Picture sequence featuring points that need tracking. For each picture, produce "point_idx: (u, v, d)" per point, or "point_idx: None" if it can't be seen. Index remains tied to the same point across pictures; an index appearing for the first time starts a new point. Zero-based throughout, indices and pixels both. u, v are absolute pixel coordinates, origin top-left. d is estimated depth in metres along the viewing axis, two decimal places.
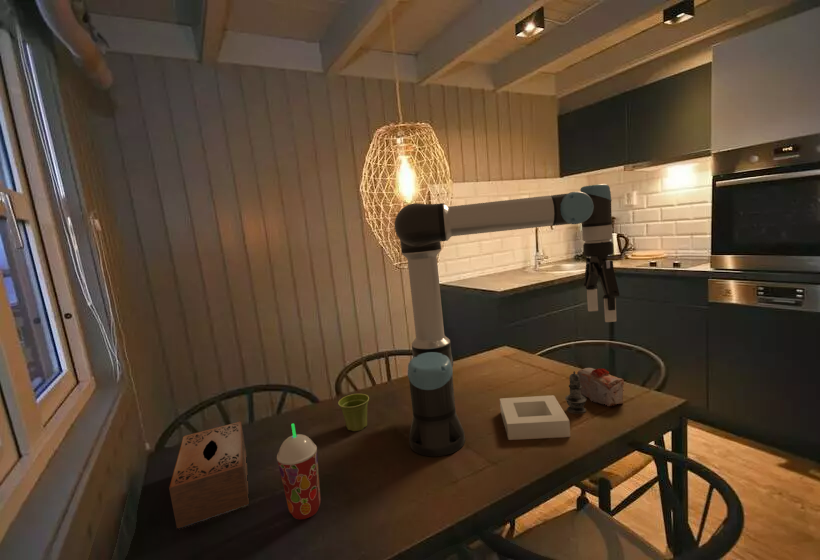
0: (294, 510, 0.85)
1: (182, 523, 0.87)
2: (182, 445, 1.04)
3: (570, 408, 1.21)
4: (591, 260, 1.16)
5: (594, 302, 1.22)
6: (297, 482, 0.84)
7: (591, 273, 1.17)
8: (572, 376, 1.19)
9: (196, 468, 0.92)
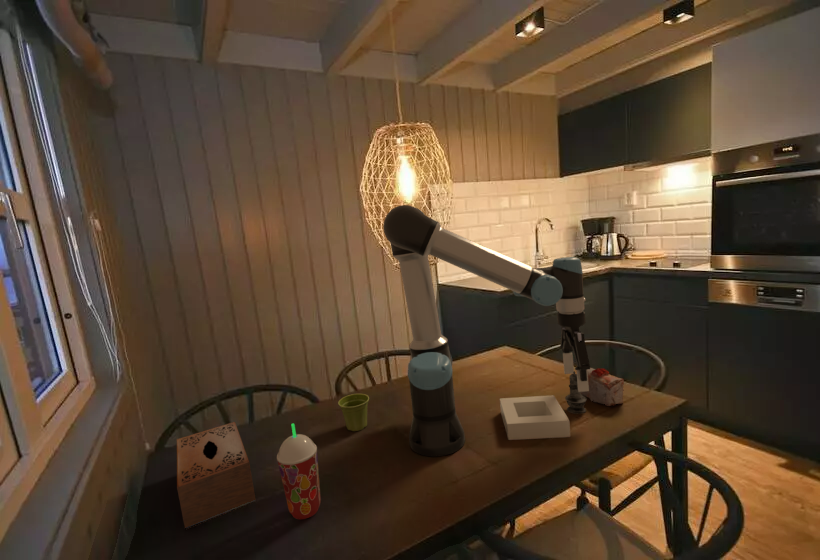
0: (294, 510, 0.85)
1: (190, 522, 0.87)
2: (178, 447, 1.03)
3: (570, 408, 1.21)
4: (565, 327, 1.20)
5: (569, 365, 1.25)
6: (297, 482, 0.84)
7: (566, 339, 1.21)
8: (572, 376, 1.19)
9: (200, 467, 0.92)
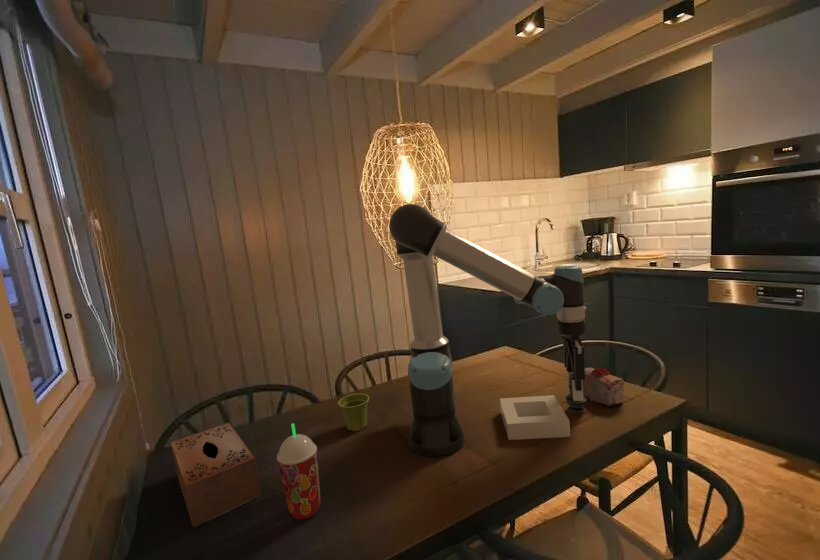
0: (294, 510, 0.85)
1: (198, 521, 0.87)
2: (175, 450, 1.02)
3: (570, 408, 1.21)
4: (565, 334, 1.21)
5: None
6: (297, 482, 0.84)
7: (567, 350, 1.20)
8: (572, 376, 1.19)
9: (205, 466, 0.93)
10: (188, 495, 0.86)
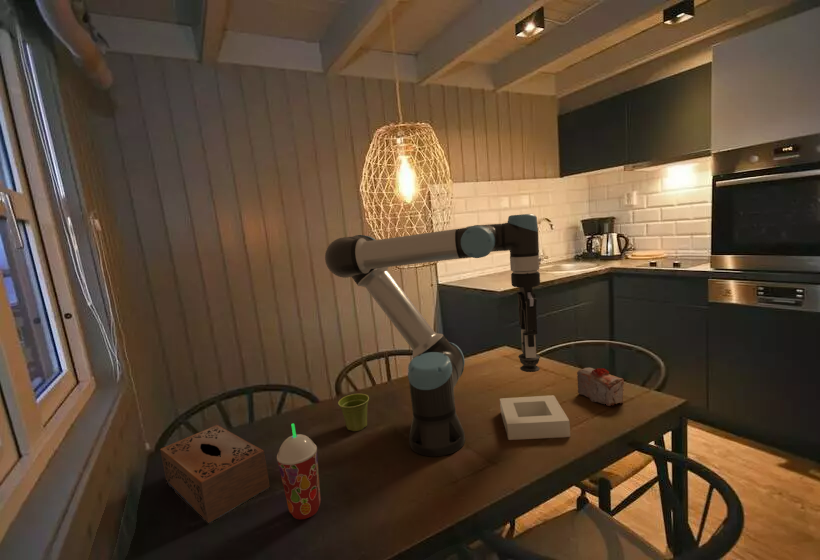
0: (294, 510, 0.85)
1: (213, 516, 0.88)
2: (170, 454, 1.00)
3: (523, 367, 1.14)
4: (520, 289, 1.14)
5: None
6: (297, 482, 0.84)
7: None
8: None
9: (213, 464, 0.93)
10: (204, 491, 0.87)
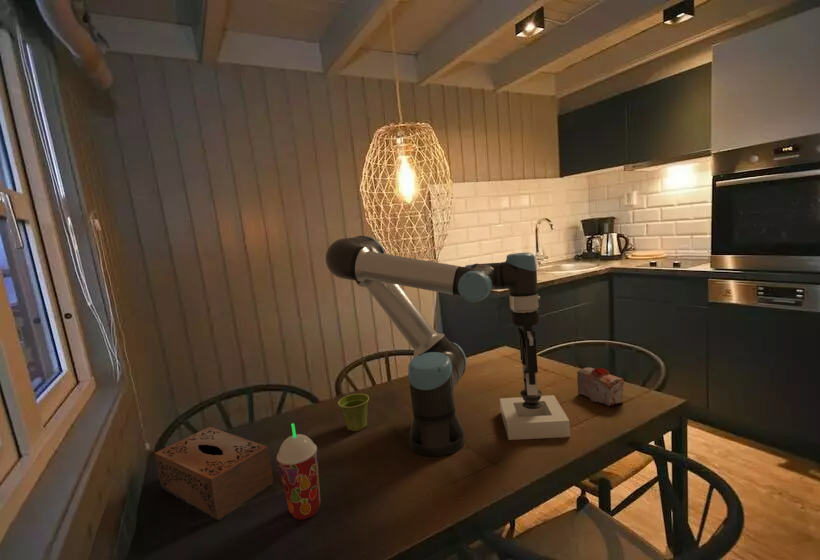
0: (294, 510, 0.85)
1: (222, 513, 0.89)
2: (167, 457, 0.98)
3: (525, 403, 1.15)
4: (520, 326, 1.14)
5: None
6: (297, 482, 0.84)
7: (522, 342, 1.14)
8: None
9: (218, 462, 0.94)
10: (214, 488, 0.87)
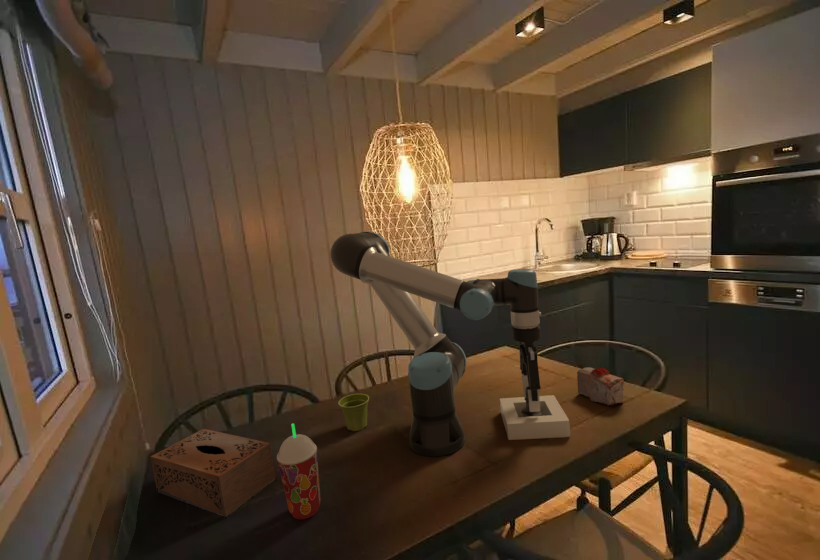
0: (294, 510, 0.85)
1: (230, 510, 0.90)
2: (166, 459, 0.98)
3: None
4: (521, 341, 1.15)
5: None
6: (297, 482, 0.84)
7: (522, 356, 1.15)
8: None
9: (222, 460, 0.94)
10: (221, 485, 0.88)
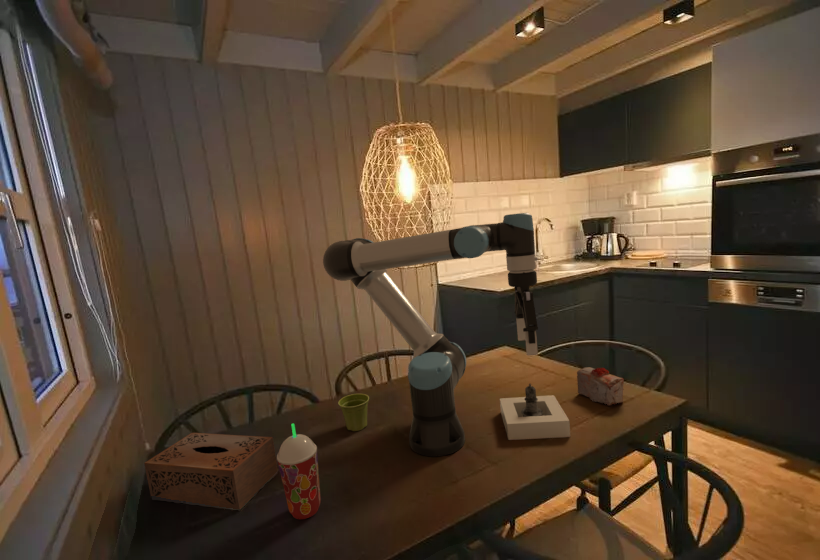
0: (294, 510, 0.85)
1: (242, 503, 0.92)
2: (164, 463, 0.96)
3: None
4: (517, 289, 1.13)
5: (523, 331, 1.18)
6: (297, 482, 0.84)
7: (518, 302, 1.14)
8: (528, 389, 1.13)
9: (228, 457, 0.96)
10: (235, 479, 0.90)
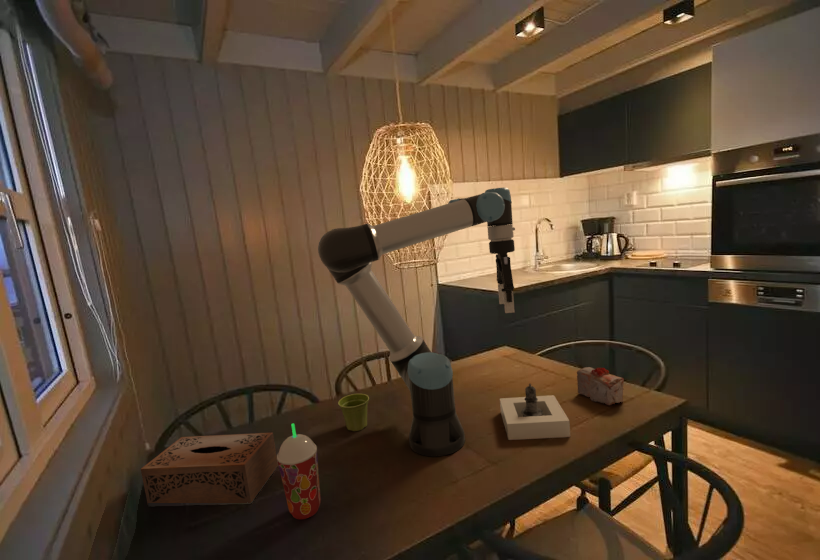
0: (294, 510, 0.85)
1: (253, 496, 0.94)
2: (165, 466, 0.94)
3: None
4: None
5: (504, 296, 1.32)
6: (297, 482, 0.84)
7: (498, 269, 1.28)
8: (528, 389, 1.13)
9: (234, 453, 0.97)
10: (246, 473, 0.92)
